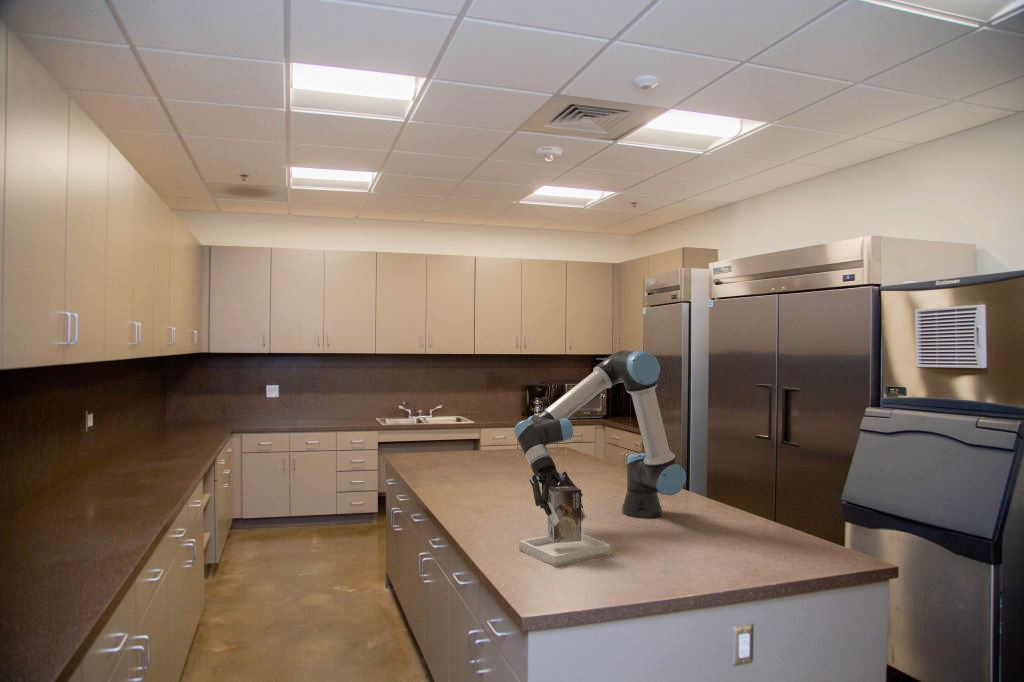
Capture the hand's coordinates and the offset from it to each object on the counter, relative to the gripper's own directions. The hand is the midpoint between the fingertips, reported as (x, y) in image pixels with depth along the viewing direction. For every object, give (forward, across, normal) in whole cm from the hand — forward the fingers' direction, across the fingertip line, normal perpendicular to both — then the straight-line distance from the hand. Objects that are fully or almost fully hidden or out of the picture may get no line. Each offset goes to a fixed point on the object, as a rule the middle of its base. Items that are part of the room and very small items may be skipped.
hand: (570, 521), depth 202 cm
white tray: (+5, 0, -9) cm, 11 cm away
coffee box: (+3, 0, -7) cm, 7 cm away
